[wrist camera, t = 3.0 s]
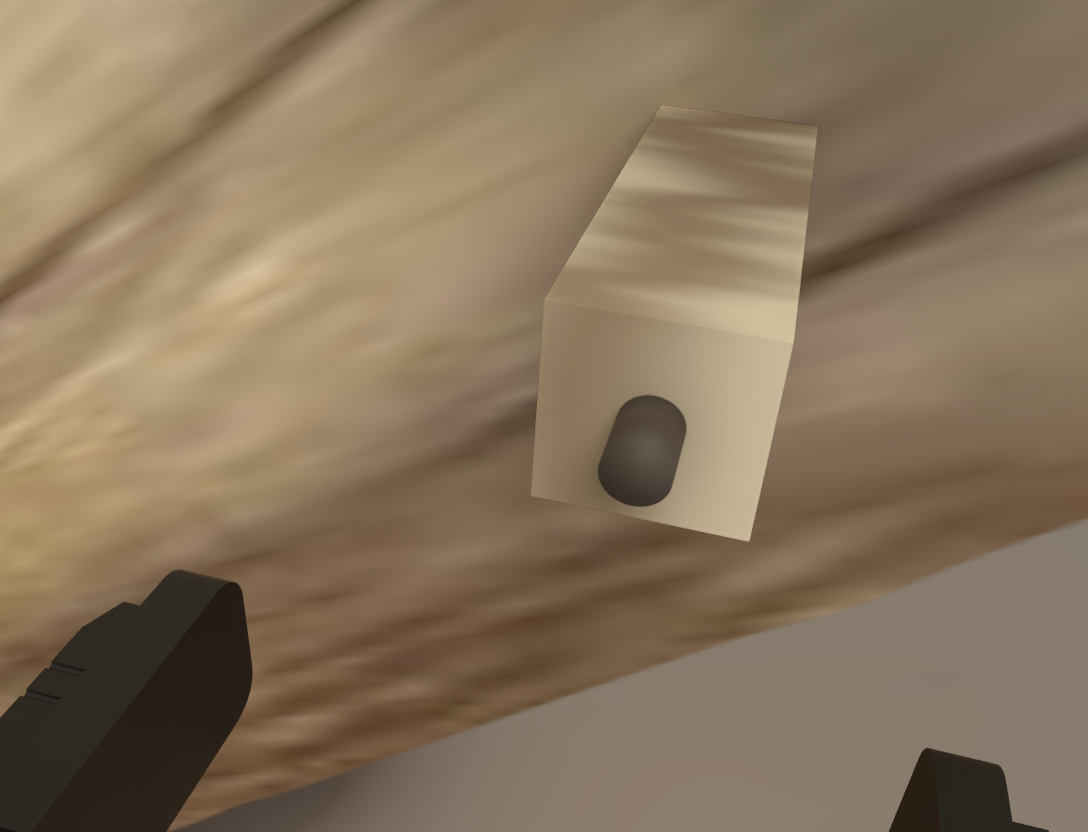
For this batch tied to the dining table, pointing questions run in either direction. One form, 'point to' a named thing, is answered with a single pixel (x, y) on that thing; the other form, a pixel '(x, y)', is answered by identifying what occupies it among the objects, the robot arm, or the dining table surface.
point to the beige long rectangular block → (678, 325)
